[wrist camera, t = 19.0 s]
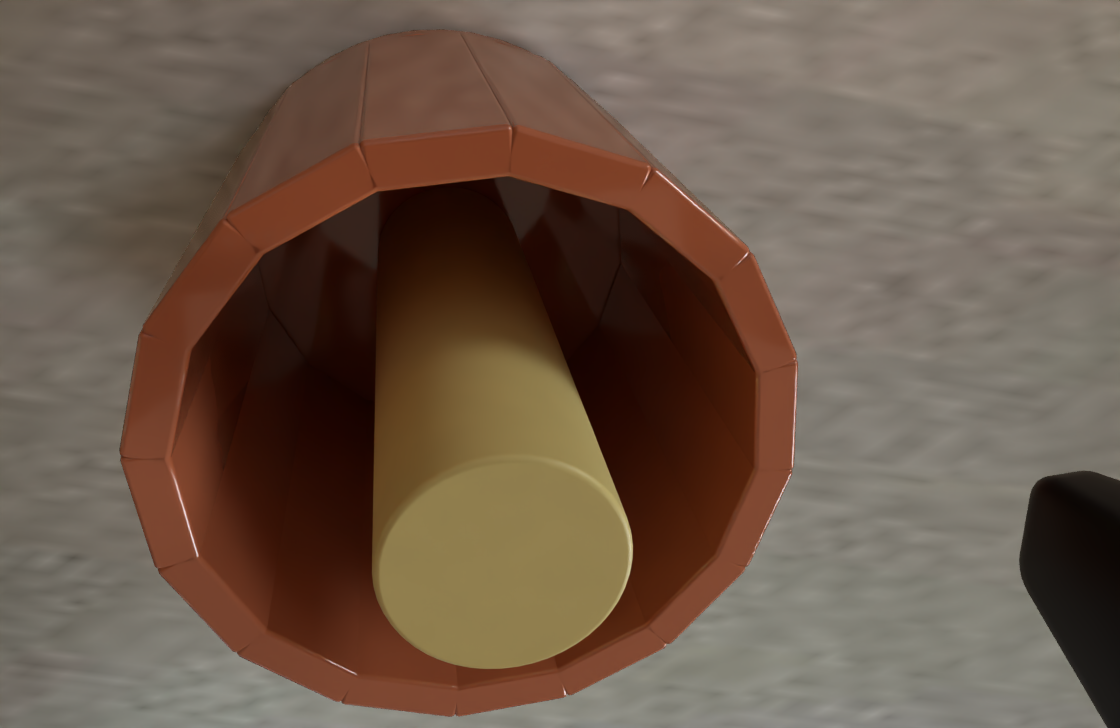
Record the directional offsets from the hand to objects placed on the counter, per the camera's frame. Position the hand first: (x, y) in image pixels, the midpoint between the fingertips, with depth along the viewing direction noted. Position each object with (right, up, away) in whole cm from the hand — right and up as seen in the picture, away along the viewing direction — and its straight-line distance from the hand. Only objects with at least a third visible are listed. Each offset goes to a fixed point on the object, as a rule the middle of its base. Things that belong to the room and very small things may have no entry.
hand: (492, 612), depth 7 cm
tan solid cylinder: (-1, +4, +8) cm, 9 cm away
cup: (-1, +4, +8) cm, 9 cm away
